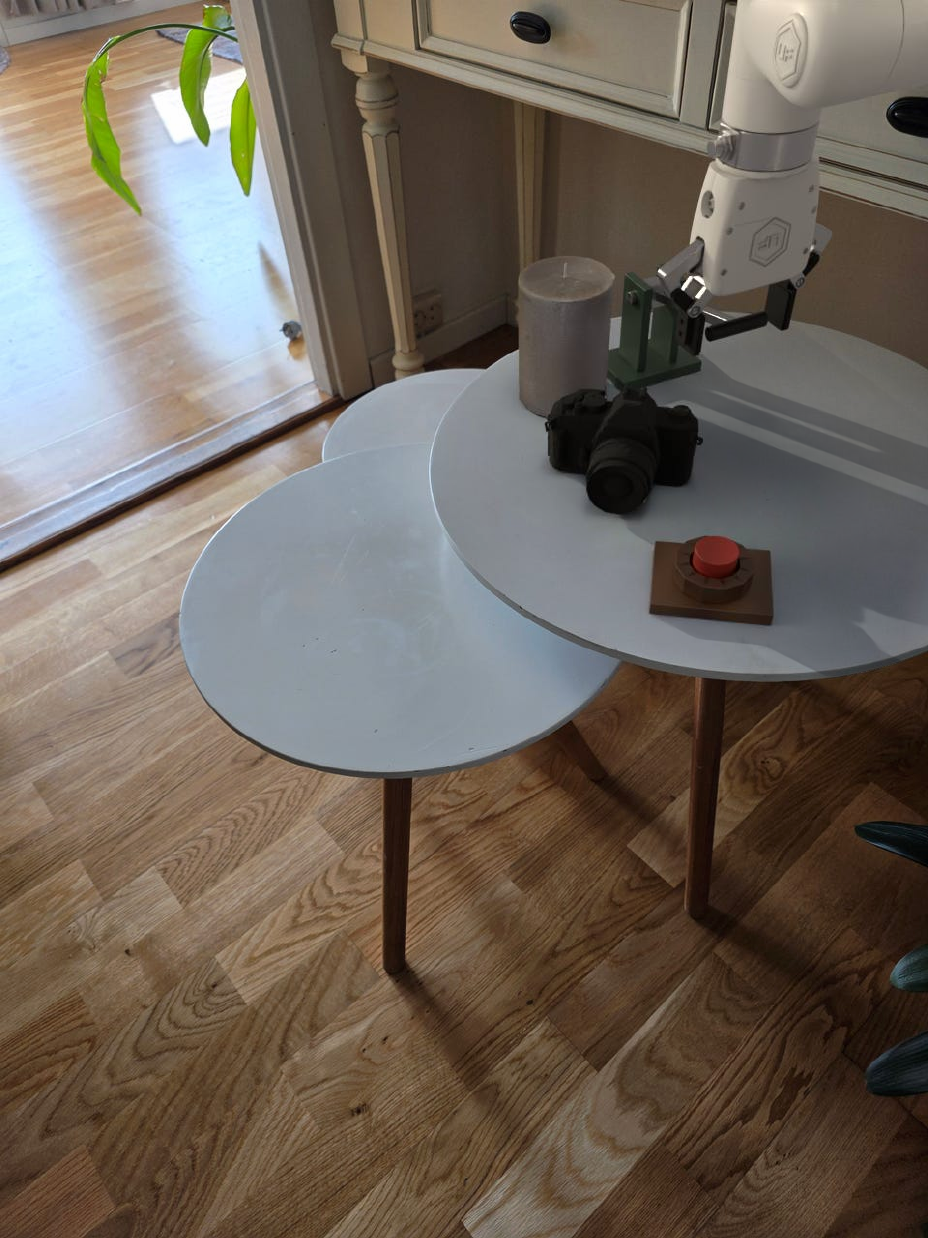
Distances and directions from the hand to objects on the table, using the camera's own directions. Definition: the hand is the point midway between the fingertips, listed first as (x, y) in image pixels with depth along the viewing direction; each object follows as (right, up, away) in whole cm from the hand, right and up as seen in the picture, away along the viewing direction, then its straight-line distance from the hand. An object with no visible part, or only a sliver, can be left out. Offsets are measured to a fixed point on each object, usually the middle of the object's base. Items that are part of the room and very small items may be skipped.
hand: (732, 336), depth 83 cm
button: (-4, -22, -9) cm, 24 cm away
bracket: (-5, +2, +17) cm, 18 cm away
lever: (-2, +4, +6) cm, 7 cm away
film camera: (-11, -14, +3) cm, 18 cm away
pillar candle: (-15, -2, +15) cm, 21 cm away
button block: (-4, -24, -7) cm, 25 cm away
